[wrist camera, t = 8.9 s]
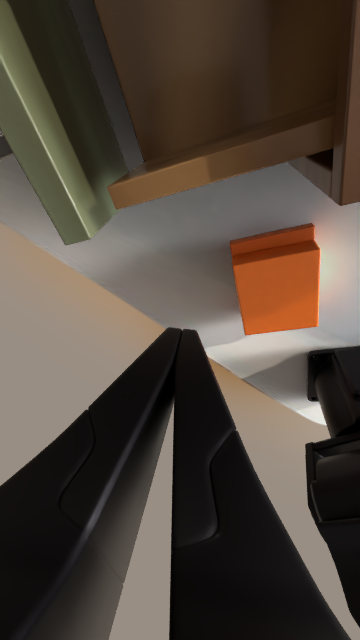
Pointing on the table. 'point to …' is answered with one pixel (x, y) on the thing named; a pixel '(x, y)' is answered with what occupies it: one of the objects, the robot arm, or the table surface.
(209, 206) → the table surface
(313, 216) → the table surface
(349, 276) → the table surface
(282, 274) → the orange box
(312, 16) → the drawer
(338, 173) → the cabinet
